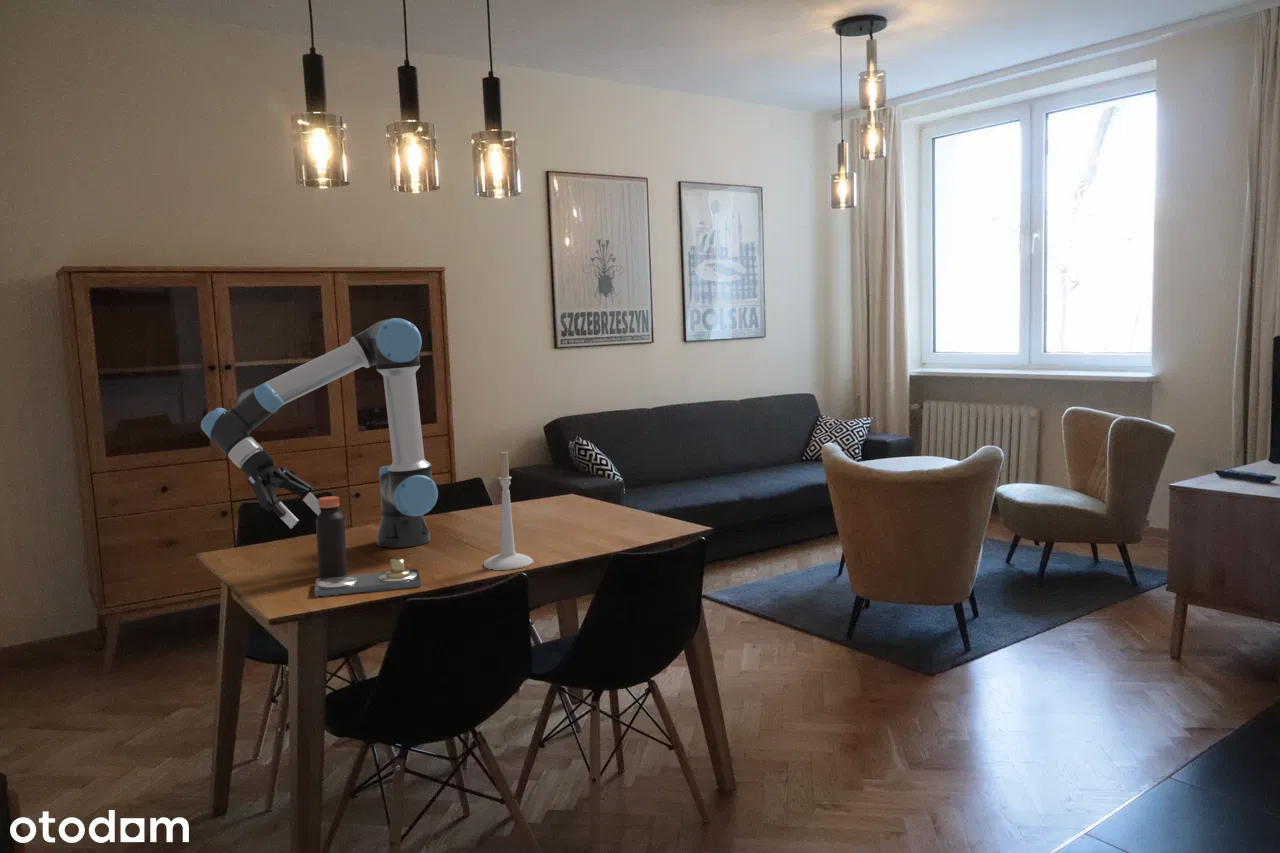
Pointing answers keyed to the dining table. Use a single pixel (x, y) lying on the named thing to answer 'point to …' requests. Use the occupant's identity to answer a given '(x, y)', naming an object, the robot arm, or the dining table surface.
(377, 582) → the plate
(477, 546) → the dining table surface
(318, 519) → the vinegar
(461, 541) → the dining table surface
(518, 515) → the dining table surface
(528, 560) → the candlestick
